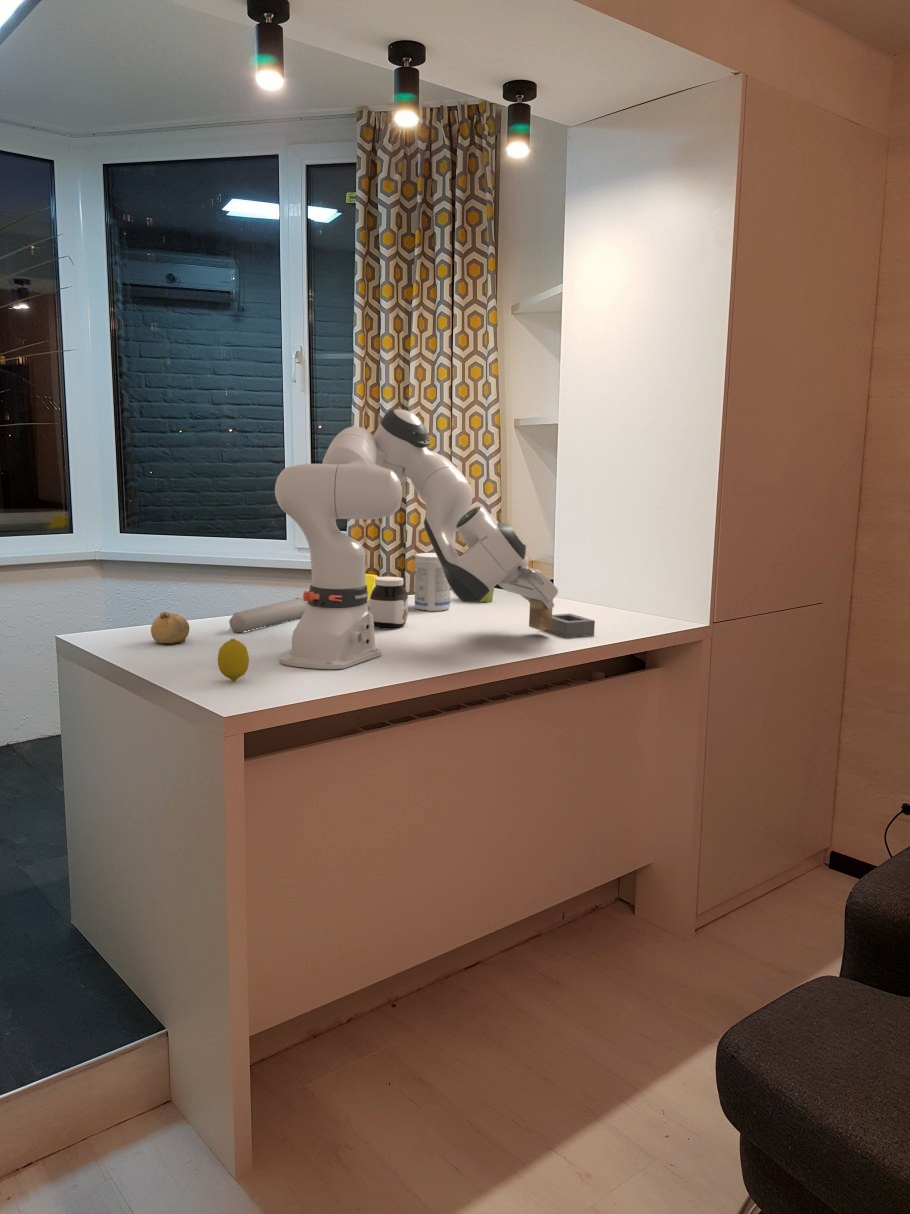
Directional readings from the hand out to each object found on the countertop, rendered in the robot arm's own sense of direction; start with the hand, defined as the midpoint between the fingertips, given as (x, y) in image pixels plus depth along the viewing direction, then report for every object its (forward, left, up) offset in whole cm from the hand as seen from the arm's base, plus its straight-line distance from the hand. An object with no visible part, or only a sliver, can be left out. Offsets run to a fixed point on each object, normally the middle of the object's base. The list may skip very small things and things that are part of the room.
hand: (543, 605), depth 214 cm
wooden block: (-1, 0, -5) cm, 5 cm away
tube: (-14, +64, -8) cm, 66 cm away
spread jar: (-3, +39, -7) cm, 39 cm away
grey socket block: (+6, -5, -7) cm, 10 cm away
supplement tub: (+23, +35, -7) cm, 42 cm away
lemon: (-64, +45, -7) cm, 78 cm away
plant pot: (+41, +26, -7) cm, 49 cm away
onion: (-40, +74, -7) cm, 84 cm away
